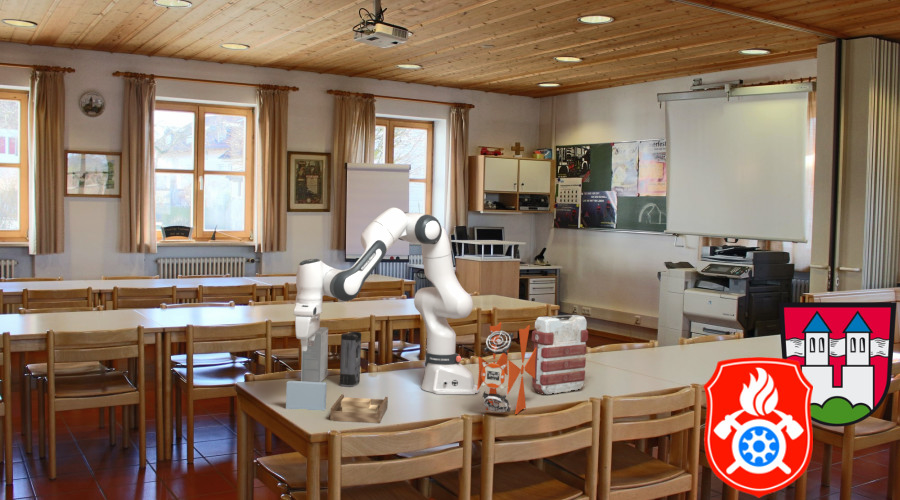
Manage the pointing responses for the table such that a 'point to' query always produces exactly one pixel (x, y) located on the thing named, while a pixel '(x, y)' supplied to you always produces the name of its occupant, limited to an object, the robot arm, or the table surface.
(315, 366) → the hard drive box
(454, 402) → the table surface
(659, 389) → the table surface
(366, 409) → the offcut stack
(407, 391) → the table surface
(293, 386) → the blue-grey flat box
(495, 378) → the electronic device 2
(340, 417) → the wooden tray
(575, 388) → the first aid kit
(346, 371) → the electronic device
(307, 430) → the table surface
